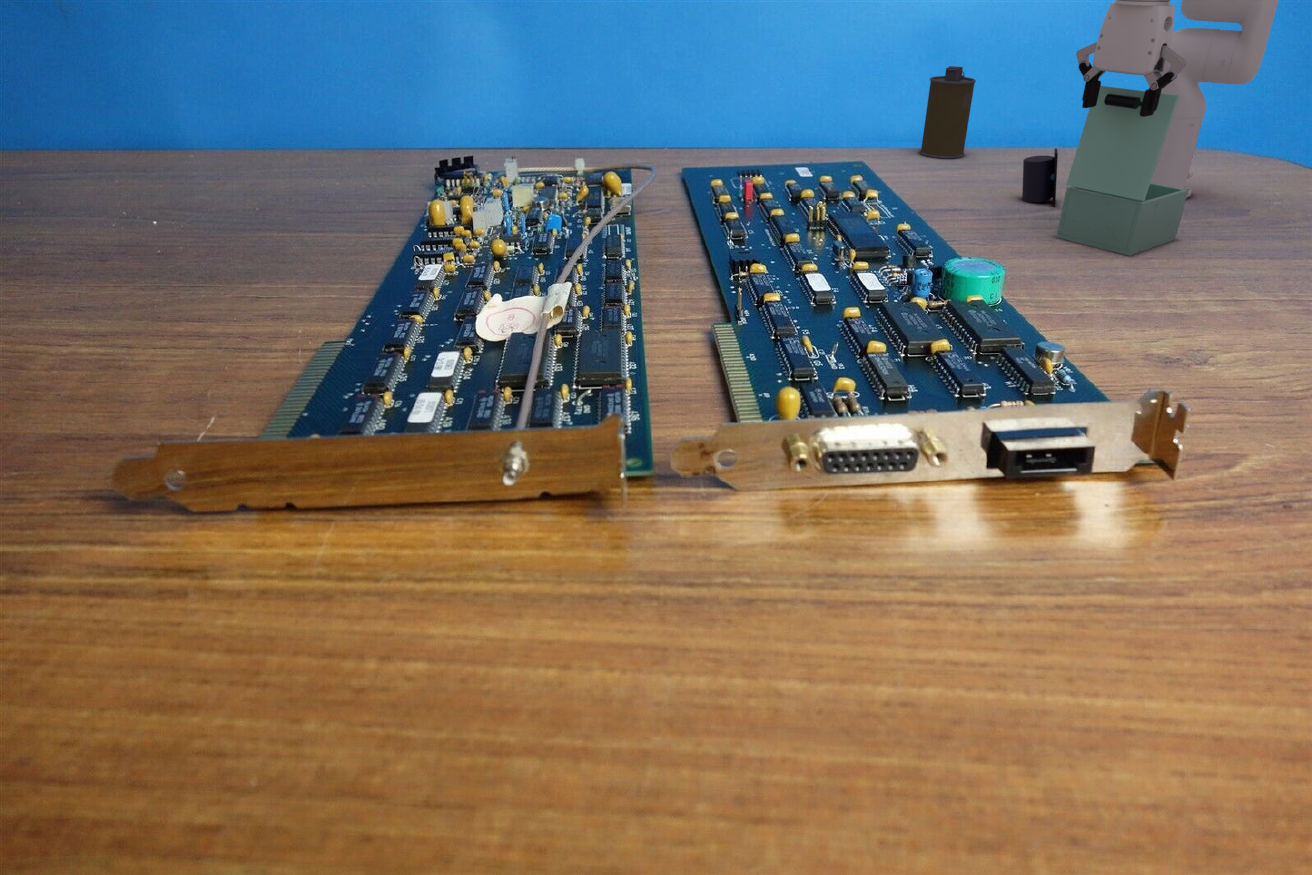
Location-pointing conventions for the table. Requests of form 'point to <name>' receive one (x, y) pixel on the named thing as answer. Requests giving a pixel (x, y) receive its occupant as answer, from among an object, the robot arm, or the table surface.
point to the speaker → (1040, 178)
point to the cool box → (1122, 218)
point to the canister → (947, 114)
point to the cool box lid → (1121, 143)
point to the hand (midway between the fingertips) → (1116, 111)
